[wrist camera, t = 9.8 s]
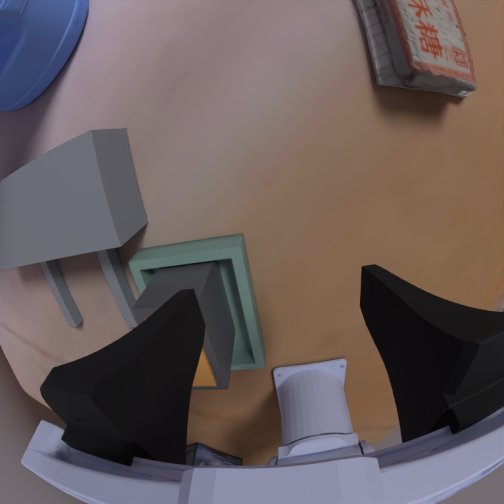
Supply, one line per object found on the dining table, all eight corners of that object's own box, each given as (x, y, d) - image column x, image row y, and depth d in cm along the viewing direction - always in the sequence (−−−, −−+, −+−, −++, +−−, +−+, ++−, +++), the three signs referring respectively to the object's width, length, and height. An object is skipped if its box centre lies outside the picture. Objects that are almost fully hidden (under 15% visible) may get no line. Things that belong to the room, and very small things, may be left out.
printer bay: (179, 316, 25) (164, 352, 20) (56, 319, 27) (36, 343, 22) (126, 128, 18) (91, 130, 13) (5, 187, 20) (-25, 200, 15)
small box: (245, 458, 40) (242, 505, 30) (223, 464, 42) (219, 507, 32) (198, 441, 37) (189, 492, 27) (179, 447, 39) (169, 493, 30)
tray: (265, 350, 26) (265, 368, 24) (181, 354, 27) (175, 371, 25) (243, 233, 21) (240, 246, 19) (140, 249, 22) (128, 262, 20)
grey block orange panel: (236, 334, 25) (229, 395, 18) (192, 337, 25) (174, 395, 19) (216, 252, 21) (196, 307, 15) (164, 259, 22) (129, 311, 15)
